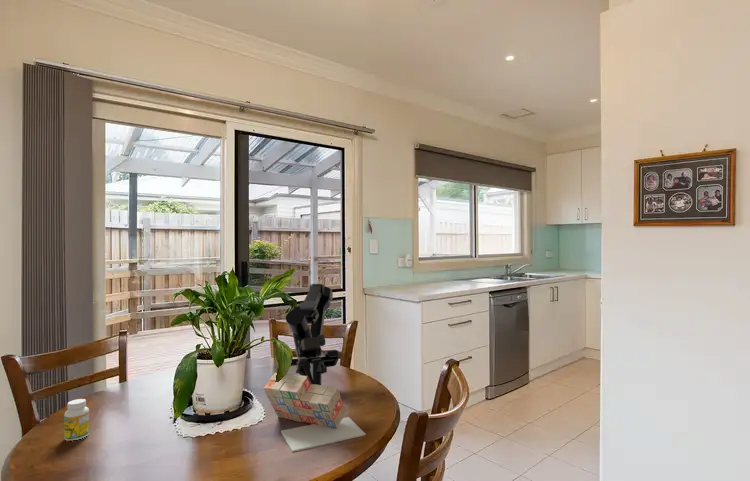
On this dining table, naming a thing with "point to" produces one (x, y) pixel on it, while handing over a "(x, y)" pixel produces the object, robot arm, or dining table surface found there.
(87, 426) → the supplement bottle
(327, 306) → the robot arm
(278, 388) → the stack of blocks
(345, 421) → the rubber mat
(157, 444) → the dining table surface
